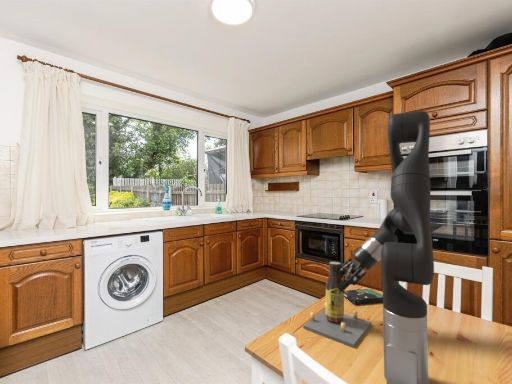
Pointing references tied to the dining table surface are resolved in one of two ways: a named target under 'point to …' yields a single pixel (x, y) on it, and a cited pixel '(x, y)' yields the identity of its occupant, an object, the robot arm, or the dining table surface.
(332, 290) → the sauce bottle
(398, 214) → the robot arm
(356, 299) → the disk drive
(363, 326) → the standoff mount
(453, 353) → the dining table surface
